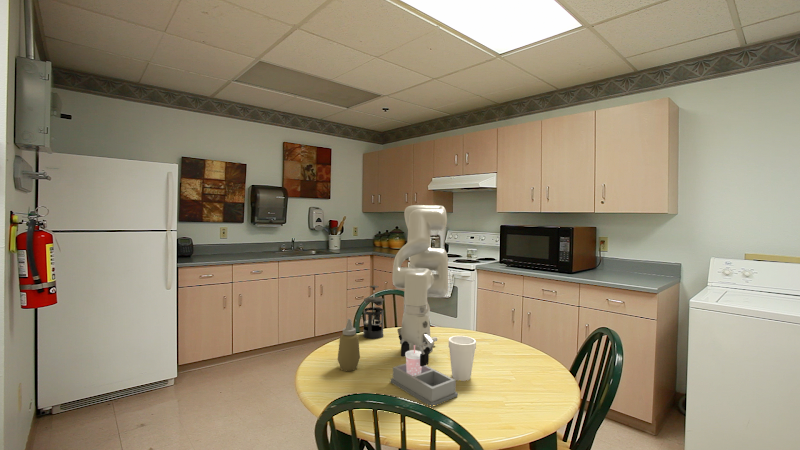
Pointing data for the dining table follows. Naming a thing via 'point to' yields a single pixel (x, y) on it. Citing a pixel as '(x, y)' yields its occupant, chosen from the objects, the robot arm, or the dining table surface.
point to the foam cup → (462, 356)
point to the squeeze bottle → (349, 348)
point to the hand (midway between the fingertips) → (414, 360)
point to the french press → (373, 324)
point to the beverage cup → (413, 362)
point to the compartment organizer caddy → (425, 384)
